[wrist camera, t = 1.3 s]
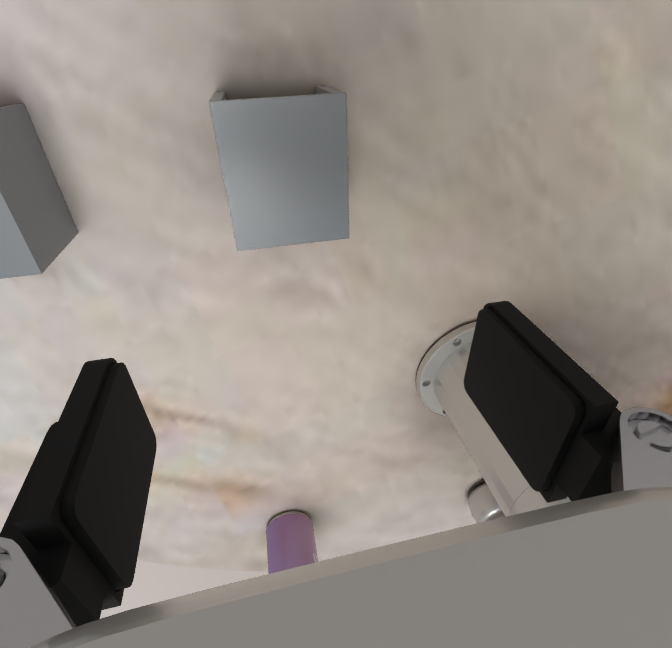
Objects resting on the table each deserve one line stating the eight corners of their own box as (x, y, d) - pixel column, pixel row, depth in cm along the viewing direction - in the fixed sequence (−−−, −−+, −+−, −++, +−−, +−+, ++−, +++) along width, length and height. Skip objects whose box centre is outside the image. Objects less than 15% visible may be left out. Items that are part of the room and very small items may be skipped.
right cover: (324, 85, 26) (346, 93, 21) (330, 206, 31) (349, 238, 26) (214, 91, 25) (208, 101, 20) (237, 216, 30) (237, 251, 25)
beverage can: (260, 516, 51) (268, 663, 39) (307, 504, 51) (328, 644, 39) (271, 540, 54) (281, 681, 42) (314, 528, 55) (336, 664, 42)
